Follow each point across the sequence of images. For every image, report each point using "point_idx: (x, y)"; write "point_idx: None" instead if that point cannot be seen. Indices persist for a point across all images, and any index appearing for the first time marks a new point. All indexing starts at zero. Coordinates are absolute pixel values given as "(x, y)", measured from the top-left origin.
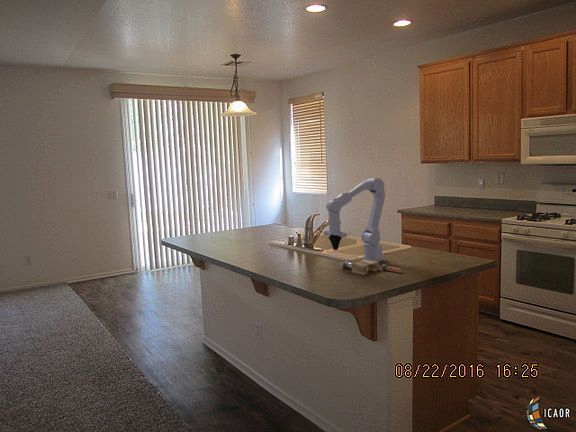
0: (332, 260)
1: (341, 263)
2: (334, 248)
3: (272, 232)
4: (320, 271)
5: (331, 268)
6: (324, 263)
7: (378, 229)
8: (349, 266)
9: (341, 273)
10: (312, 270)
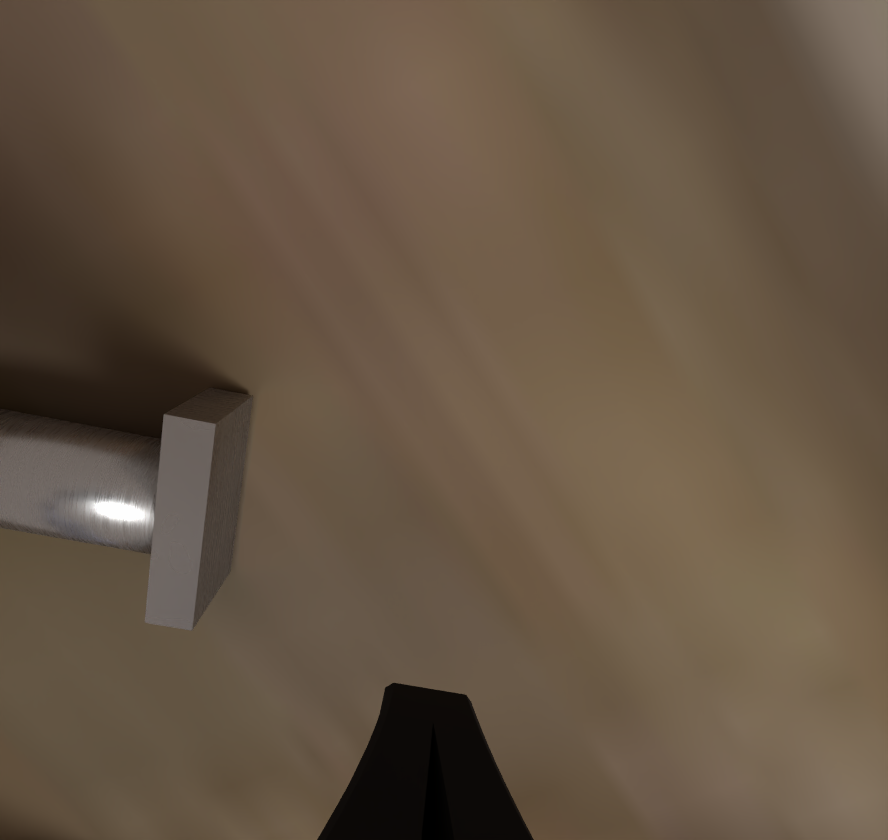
0: (687, 794)
1: (189, 415)
2: (409, 716)
3: None
4: (479, 40)
5: (415, 345)
6: (716, 595)
7: None
8: (39, 418)
9: (13, 82)
10: (675, 42)
